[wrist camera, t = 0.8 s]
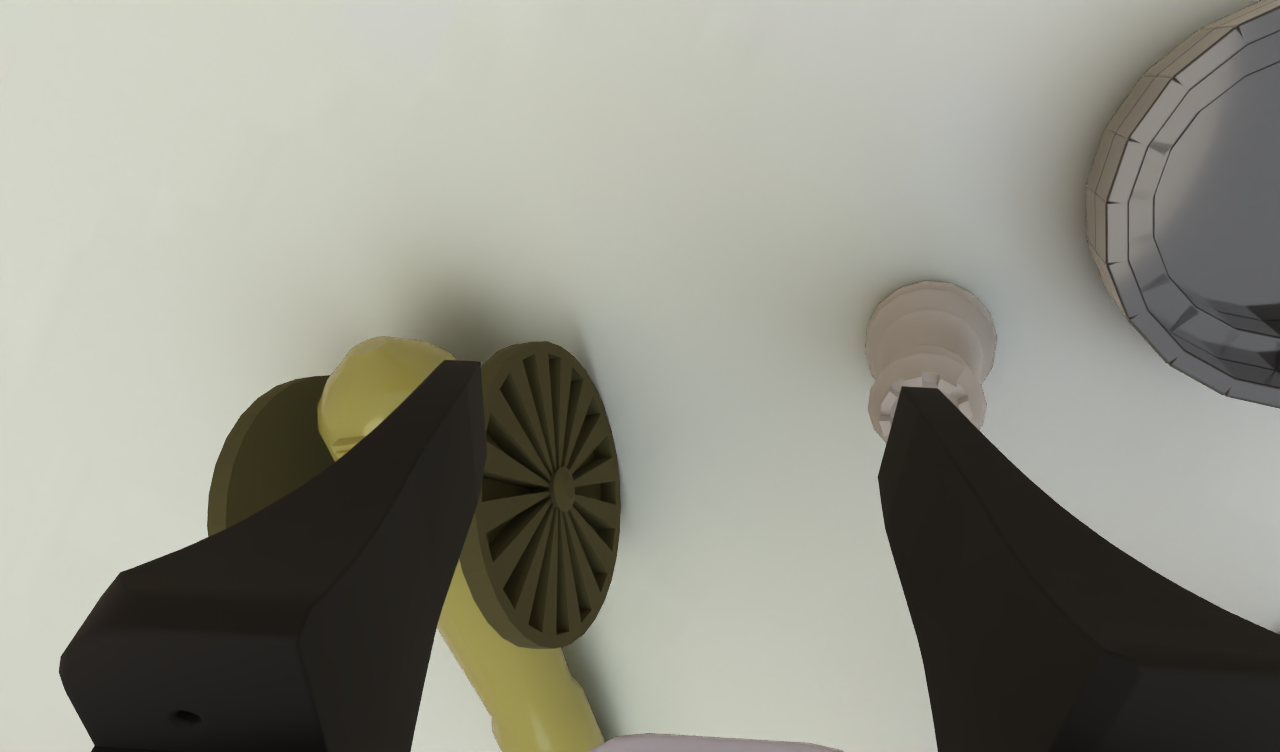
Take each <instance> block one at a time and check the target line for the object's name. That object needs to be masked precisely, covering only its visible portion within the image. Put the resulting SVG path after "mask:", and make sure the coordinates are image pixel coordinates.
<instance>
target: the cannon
mask: <svg viewBox="0 0 1280 752" xmlns="http://www.w3.org/2000/svg"><path fill="white" fill-rule="evenodd" d="M444 360H457V359H456V358H455V357H454V356H453V355H452V354H450V353H449V352H448V351H447V350H445V349H443V348H441V347H438V346H436V345H433V344H430V343H427V342H425V341H422V340H417V339H404V338H394V337H386V336H380V337H375V338H372V339H369V340H366V341H364V342H362V343H360V344H358V345H356V346H355V347H354V348H352V349H351V350H350V351H349V353H348V354H347V355H346V357H345V358H344V360H343V361H342V362H341V363H340V365H339V366H338V367H337V368H336V369H335V371H334V372H333V373H332V374H331V375H330V376H315V377H307V378H301V379H295V380H292V381H289V382H287V383H284V384H281V385H278V386H276V387H274V388H273V389H271V390H270V391H268V392H267V393H265V394H263V395H262V396H260V397H259V398H257V400H256V401H255V402H254V403H253V404H252V405H251V406H250V407H249V408H248V409H247V410H246V411H245V412H244V413H243V414H242V415H241V416H240V418H239V419H238V421H237V422H236V424H235V426H234V427H233V429H232V430H231V432H230V433H229V435H228V437H227V438H226V440H225V443H224V445H223V448H222V450H221V453H220V455H219V458H218V460H217V462H216V465H215V469H214V474H213V478H212V483H211V487H210V492H209V502H208V521H207V528H208V537H210V536H212V535H214V534H216V533H218V532H220V531H222V530H224V529H226V528H228V527H230V526H232V525H234V524H236V523H238V522H240V521H242V520H244V519H246V518H248V517H250V516H252V515H253V514H255V513H257V512H258V511H260V510H262V509H264V508H265V507H267V506H269V505H270V504H272V503H274V502H276V501H277V500H279V499H281V498H282V497H284V496H286V495H287V494H289V493H291V492H293V491H294V490H296V489H297V488H299V487H300V486H302V485H303V484H305V483H306V482H308V481H309V480H311V479H312V478H313V477H315V476H316V475H318V474H319V473H321V472H322V471H324V470H325V469H326V468H328V467H329V466H330V465H332V464H333V463H334V462H336V461H337V460H338V459H339V458H341V457H342V456H343V455H344V454H345V453H347V452H348V451H349V450H350V449H351V448H352V447H354V446H355V445H356V444H357V443H358V442H360V441H361V440H362V439H363V438H364V437H365V436H367V435H368V434H369V433H370V432H371V431H372V430H374V429H375V428H376V427H377V426H378V425H379V424H380V423H381V422H382V421H383V420H384V419H385V418H386V417H387V416H388V415H389V414H391V413H392V412H393V411H394V410H395V409H396V408H397V407H398V406H399V405H400V404H401V403H402V402H403V401H404V400H405V399H406V398H407V397H408V396H409V395H410V394H411V393H412V392H413V391H414V390H415V389H416V388H417V387H418V386H419V385H420V384H421V383H422V382H423V381H424V380H425V379H426V378H427V377H428V376H429V374H430V373H431V372H432V371H433V370H434V369H435V368H436V367H437V366H438V365H439V364H441V363H442V362H443V361H444ZM481 377H482V391H483V404H484V417H485V431H486V444H487V458H486V463H485V468H484V474H483V479H482V484H481V489H480V494H479V499H478V504H477V507H476V510H475V513H474V516H473V519H472V522H471V525H470V528H469V531H468V534H467V537H466V540H465V543H464V546H463V549H462V552H461V555H460V558H459V561H458V564H457V566H456V569H455V572H454V575H453V578H452V581H451V584H450V587H449V590H448V593H447V596H446V599H445V602H444V605H443V608H442V611H441V614H440V618H439V621H438V625H437V629H438V631H439V632H440V634H441V636H442V637H443V639H444V641H445V642H446V644H447V645H448V647H449V649H450V650H451V652H452V654H453V655H454V657H455V659H456V660H457V662H458V663H459V665H460V667H461V668H462V670H463V672H464V673H465V675H466V676H467V678H468V680H469V681H470V683H471V685H472V686H473V688H474V689H475V691H476V693H477V694H478V696H479V698H480V699H481V701H482V702H483V704H484V706H485V707H486V709H487V711H488V712H489V714H490V715H491V719H492V731H493V734H494V737H495V739H496V741H497V743H498V745H499V747H500V749H501V751H502V752H588V751H589V750H591V749H593V748H595V747H597V746H599V745H600V744H602V743H604V742H605V739H604V737H603V735H602V732H601V730H600V728H599V725H598V723H597V721H596V718H595V716H594V714H593V711H592V709H591V707H590V704H589V702H588V700H587V697H586V695H585V693H584V690H583V688H582V686H581V684H580V683H579V682H578V681H577V680H576V679H575V678H574V677H573V676H572V675H571V674H570V672H569V669H568V667H567V664H566V661H565V658H564V655H563V652H562V649H561V647H563V646H566V645H570V644H571V643H573V642H574V641H575V640H577V639H578V638H579V637H581V636H582V635H583V634H584V633H585V632H586V630H587V629H588V628H589V627H590V625H591V624H592V623H593V621H594V620H595V618H596V616H597V614H598V612H599V611H600V609H601V607H602V605H603V603H604V600H605V598H606V595H607V592H608V589H609V586H610V583H611V580H612V576H613V571H614V566H615V562H616V557H617V550H618V542H619V534H620V510H621V502H620V480H619V472H618V464H617V456H616V451H615V446H614V442H613V437H612V432H611V428H610V425H609V422H608V419H607V415H606V412H605V409H604V406H603V404H602V402H601V399H600V397H599V395H598V392H597V390H596V388H595V386H594V384H593V383H592V381H591V379H590V378H589V376H588V374H587V372H586V371H585V369H584V368H583V367H582V366H581V365H580V363H579V362H578V361H577V360H576V359H575V357H574V356H572V355H571V354H570V353H569V352H567V351H566V350H565V349H563V348H562V347H561V346H558V345H555V344H553V343H550V342H547V341H543V342H528V343H522V344H516V345H511V346H509V347H507V348H504V349H502V350H500V351H498V352H497V353H495V354H494V355H493V356H492V357H491V358H490V359H489V360H488V361H487V362H485V363H484V365H483V366H482V368H481Z"/></svg>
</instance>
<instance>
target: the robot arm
mask: <svg viewBox="0 0 1280 752" xmlns="http://www.w3.org/2000/svg"><path fill="white" fill-rule="evenodd" d="M486 458H487V444H486V431H485V417H484V404H483V391H482V377H481V364H480V362H477V361H460V360H444V361H443V362H442V363H441V364H439V365H438V366H437V367H436V368H435V369H434V370H433V371H432V372H431V373H430V374H429V376H428V377H427V378H426V379H425V380H424V381H423V382H422V383H421V384H420V385H419V386H418V387H417V388H416V389H415V390H414V391H413V392H412V393H411V394H410V395H409V396H408V397H407V398H406V399H405V400H404V401H403V402H402V403H401V404H400V405H399V406H398V407H397V408H396V409H395V410H394V411H393V412H392V413H391V414H389V415H388V416H387V417H386V418H385V419H384V420H383V421H382V422H381V423H380V424H379V425H378V426H377V427H376V428H375V429H374V430H372V431H371V432H370V433H369V434H368V435H367V436H365V437H364V438H363V439H362V440H361V441H360V442H358V443H357V444H356V445H355V446H354V447H352V448H351V449H350V450H349V451H348V452H347V453H345V454H344V455H343V456H342V457H341V458H339V459H338V460H337V461H336V462H334V463H333V464H332V465H330V466H329V467H328V468H326V469H325V470H324V471H322V472H321V473H319V474H318V475H316V476H315V477H313V478H312V479H311V480H309V481H308V482H306V483H305V484H303V485H302V486H300V487H299V488H297V489H296V490H294V491H293V492H291V493H289V494H287V495H286V496H284V497H282V498H281V499H279V500H277V501H276V502H274V503H272V504H270V505H269V506H267V507H265V508H264V509H262V510H260V511H258V512H257V513H255V514H253V515H252V516H250V517H248V518H246V519H244V520H242V521H240V522H238V523H236V524H234V525H232V526H230V527H228V528H226V529H224V530H222V531H220V532H218V533H216V534H214V535H212V536H210V537H208V538H205V539H203V540H201V541H199V542H197V543H194V544H192V545H190V546H188V547H185V548H183V549H181V550H178V551H175V552H173V553H170V554H168V555H165V556H163V557H160V558H158V559H155V560H152V561H150V562H147V563H145V564H142V565H140V566H137V567H134V568H132V569H129V570H126V571H123V572H120V574H119V575H118V576H117V577H116V579H115V580H114V581H113V582H112V584H111V585H110V586H109V587H108V589H107V590H106V591H105V593H104V594H103V595H102V596H101V598H100V599H99V601H98V602H97V604H96V605H95V607H94V608H93V610H92V611H91V613H90V614H89V616H88V617H87V619H86V620H85V622H84V623H83V625H82V626H81V627H80V629H79V630H78V632H77V633H76V635H75V636H74V638H73V639H72V641H71V642H70V644H69V645H68V647H67V648H66V650H65V651H64V653H63V654H62V656H61V659H60V667H59V674H60V677H61V680H62V683H63V686H64V689H65V691H66V693H67V695H68V697H69V699H70V701H71V702H72V704H73V706H74V708H75V710H76V712H77V714H78V715H79V717H80V719H81V721H82V723H83V725H84V726H85V728H86V730H87V732H88V734H89V736H90V737H91V739H92V741H93V743H94V745H95V746H94V748H93V749H92V751H91V752H410V751H411V746H412V741H413V735H414V730H415V725H416V721H417V716H418V711H419V706H420V701H421V696H422V691H423V686H424V682H425V677H426V673H427V668H428V664H429V659H430V654H431V650H432V645H433V641H434V636H435V632H436V628H437V625H438V621H439V618H440V614H441V611H442V608H443V605H444V602H445V599H446V596H447V593H448V590H449V587H450V584H451V581H452V578H453V575H454V572H455V569H456V566H457V564H458V561H459V558H460V555H461V552H462V549H463V546H464V543H465V540H466V537H467V534H468V531H469V528H470V525H471V522H472V519H473V516H474V513H475V510H476V507H477V504H478V499H479V494H480V489H481V484H482V479H483V474H484V468H485V463H486ZM878 481H879V489H880V496H881V504H882V511H883V517H884V523H885V529H886V533H887V536H888V540H889V543H890V547H891V550H892V554H893V557H894V561H895V564H896V568H897V571H898V574H899V578H900V581H901V584H902V588H903V591H904V595H905V598H906V601H907V605H908V608H909V611H910V615H911V618H912V622H913V625H914V628H915V632H916V635H917V639H918V643H919V647H920V651H921V655H922V659H923V664H924V669H925V675H926V681H927V686H928V692H929V698H930V703H931V709H932V715H933V722H934V728H935V735H936V741H937V748H938V752H1280V635H1278V634H1276V633H1274V632H1272V631H1270V630H1267V629H1265V628H1263V627H1261V626H1259V625H1256V624H1254V623H1252V622H1250V621H1248V620H1245V619H1243V618H1241V617H1239V616H1237V615H1234V614H1232V613H1230V612H1228V611H1226V610H1224V609H1222V608H1220V607H1218V606H1216V605H1214V604H1213V603H1211V602H1209V601H1207V600H1205V599H1203V598H1201V597H1199V596H1197V595H1196V594H1194V593H1192V592H1190V591H1188V590H1186V589H1184V588H1182V587H1181V586H1179V585H1177V584H1175V583H1174V582H1172V581H1170V580H1169V579H1167V578H1165V577H1163V576H1162V575H1160V574H1158V573H1156V572H1155V571H1153V570H1152V569H1150V568H1148V567H1147V566H1145V565H1144V564H1142V563H1141V562H1139V561H1137V560H1136V559H1134V558H1133V557H1131V556H1129V555H1128V554H1126V553H1125V552H1123V551H1122V550H1120V549H1119V548H1117V547H1116V546H1114V545H1113V544H1111V543H1110V542H1108V541H1107V540H1105V539H1104V538H1102V537H1101V536H1100V535H1098V534H1097V533H1096V532H1094V531H1093V530H1092V529H1090V528H1089V527H1088V526H1086V525H1085V524H1084V523H1082V522H1081V521H1080V520H1078V519H1077V518H1075V517H1074V516H1073V515H1071V514H1070V513H1069V512H1068V511H1066V510H1065V509H1064V508H1063V507H1061V506H1060V505H1059V504H1058V503H1056V502H1055V501H1054V500H1053V499H1052V498H1051V497H1049V496H1048V495H1047V494H1046V493H1045V492H1044V491H1043V490H1041V489H1040V488H1039V487H1038V486H1037V485H1036V484H1034V483H1033V482H1032V481H1031V480H1030V479H1029V478H1028V477H1027V476H1025V475H1024V474H1023V473H1022V472H1021V471H1020V470H1019V469H1018V468H1017V467H1016V466H1015V465H1014V464H1013V463H1012V462H1010V461H1009V460H1008V459H1007V458H1006V457H1005V456H1004V455H1003V454H1002V453H1001V452H1000V451H999V450H998V449H997V448H996V447H995V446H994V445H993V444H992V443H991V442H990V441H989V440H988V439H987V438H986V437H985V436H984V435H983V434H982V433H981V432H980V431H979V430H978V429H977V428H976V427H975V426H974V425H973V424H972V423H971V422H970V420H969V419H968V418H967V417H966V416H965V415H964V414H963V413H962V412H961V411H960V410H959V409H958V408H957V407H956V406H955V405H954V404H953V403H952V402H951V401H950V400H949V399H948V398H947V397H946V396H945V395H944V394H943V393H942V392H941V391H940V390H939V389H938V388H924V387H907V386H902V387H901V391H900V395H899V398H898V402H897V406H896V410H895V414H894V417H893V421H892V425H891V429H890V433H889V437H888V440H887V444H886V448H885V452H884V456H883V459H882V463H881V467H880V471H879V475H878ZM588 752H844V751H842V750H838V749H834V748H829V747H825V746H821V745H816V744H812V743H800V742H784V741H768V740H752V739H736V738H720V737H703V736H687V735H671V734H655V733H646V734H636V735H625V736H616V737H614V738H612V739H610V740H608V741H606V742H604V743H602V744H600V745H599V746H597V747H595V748H593V749H591V750H589V751H588Z"/></svg>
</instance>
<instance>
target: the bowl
mask: <svg viewBox="0 0 1280 752" xmlns="http://www.w3.org/2000/svg"><path fill="white" fill-rule="evenodd" d="M1086 185H1087V187H1086V222H1087V242H1088V245H1089V247H1090V250H1091V253H1092V255H1093V258H1094V260H1095V263H1096V265H1097V268H1098V270H1099V273H1100V275H1101V278H1102V280H1103V283H1104V286H1105V288H1106V289H1107V291H1108V293H1109V294H1110V295H1111V297H1112V298H1113V300H1114V301H1115V303H1116V304H1117V305H1118V307H1119V308H1120V310H1121V311H1122V313H1123V314H1124V315H1125V317H1126V318H1127V320H1128V321H1129V322H1130V323H1131V325H1132V326H1133V327H1134V328H1135V329H1136V330H1137V331H1138V332H1139V333H1140V335H1141V336H1142V337H1143V338H1144V339H1145V340H1146V341H1147V342H1148V343H1149V345H1150V346H1151V347H1152V348H1153V349H1154V350H1155V351H1156V352H1157V353H1158V355H1159V356H1160V357H1161V358H1162V359H1163V360H1164V361H1165V362H1166V363H1168V364H1169V365H1170V366H1171V367H1173V368H1175V369H1176V370H1178V371H1180V372H1182V373H1184V374H1185V375H1187V376H1189V377H1191V378H1193V379H1194V380H1196V381H1198V382H1200V383H1201V384H1203V385H1205V386H1207V387H1209V388H1210V389H1212V390H1214V391H1216V392H1218V393H1219V394H1221V395H1225V396H1227V397H1231V398H1235V399H1240V400H1244V401H1248V402H1253V403H1257V404H1262V405H1266V406H1271V407H1275V408H1280V0H1262V1H1260V2H1257V3H1255V4H1253V5H1251V6H1249V7H1246V8H1244V9H1242V10H1240V11H1238V12H1236V13H1233V14H1231V15H1229V16H1227V17H1225V18H1222V19H1220V20H1218V21H1216V22H1214V23H1211V24H1209V25H1207V26H1205V27H1203V28H1201V29H1200V30H1198V31H1196V32H1194V33H1193V34H1192V35H1191V36H1189V37H1188V38H1187V39H1186V40H1185V41H1183V42H1182V43H1181V44H1180V45H1178V46H1177V47H1176V48H1175V49H1174V50H1172V51H1171V52H1170V53H1169V54H1167V55H1166V56H1165V57H1164V58H1163V59H1161V60H1160V61H1159V62H1158V63H1156V64H1155V65H1154V66H1153V67H1152V68H1150V69H1149V70H1148V71H1147V72H1145V73H1144V76H1143V77H1141V78H1140V80H1139V81H1138V82H1137V84H1136V85H1135V87H1134V88H1133V89H1132V91H1131V92H1130V94H1129V95H1128V97H1127V98H1126V99H1125V101H1124V102H1123V104H1122V105H1121V106H1120V108H1119V109H1118V111H1117V112H1116V113H1115V115H1114V116H1113V118H1112V119H1111V121H1110V122H1109V123H1108V125H1107V127H1106V129H1105V130H1104V132H1103V135H1102V138H1101V141H1100V144H1099V147H1098V150H1097V153H1096V156H1095V159H1094V162H1093V165H1092V168H1091V171H1090V174H1089V177H1088V180H1087V183H1086Z"/></svg>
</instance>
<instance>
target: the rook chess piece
mask: <svg viewBox="0 0 1280 752" xmlns="http://www.w3.org/2000/svg"><path fill="white" fill-rule="evenodd" d="M996 340H997V336H996V332H995V329H994V325H993V322H992V318H991V315H990V313H989V312H988V311H987V309H986V308H985V307H984V306H983V305H982V304H981V302H980V301H979V300H978V299H977V298H976V297H975V295H974V294H972V293H969V292H967V291H965V290H963V289H961V288H959V287H957V286H955V285H953V284H951V283H943V282H931V281H922V282H919V283H915V284H912V285H908V286H905V287H901V288H899V289H898V290H896V291H895V292H894V293H892V294H891V295H890V296H888V297H887V298H886V299H885V300H883V301H882V302H881V303H879V305H878V307H877V309H876V310H875V312H874V314H873V316H872V317H871V319H870V321H869V323H868V325H867V335H866V344H865V348H866V351H865V355H866V358H867V361H868V364H869V367H870V370H871V373H872V376H873V377H874V378H875V379H876V381H875V382H874V384H873V386H872V387H871V389H870V395H869V404H868V412H869V415H870V418H871V421H872V424H873V427H874V430H875V431H876V432H877V433H878V434H879V435H880V437H881V438H882V439H883V440H884V441H885V442H886V443H887V440H888V437H889V433H890V429H891V425H892V421H893V417H894V414H895V410H896V406H897V402H898V398H899V395H900V391H901V387H902V386H907V387H924V388H938V389H939V390H940V391H941V392H942V393H943V394H944V395H945V396H946V397H947V398H948V399H949V400H950V401H951V402H952V403H953V404H954V405H955V406H956V407H957V408H958V409H959V410H960V411H961V412H962V413H963V414H964V415H965V416H966V417H967V418H968V419H969V420H970V422H971V423H972V424H973V425H974V426H975V427H976V428H977V429H978V430H980V429H981V427H982V426H983V423H984V417H985V410H986V400H985V397H984V393H983V390H982V387H981V384H982V383H983V381H984V380H985V378H986V377H987V375H988V374H989V372H990V371H991V369H992V366H993V360H994V354H995V348H996Z"/></svg>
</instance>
